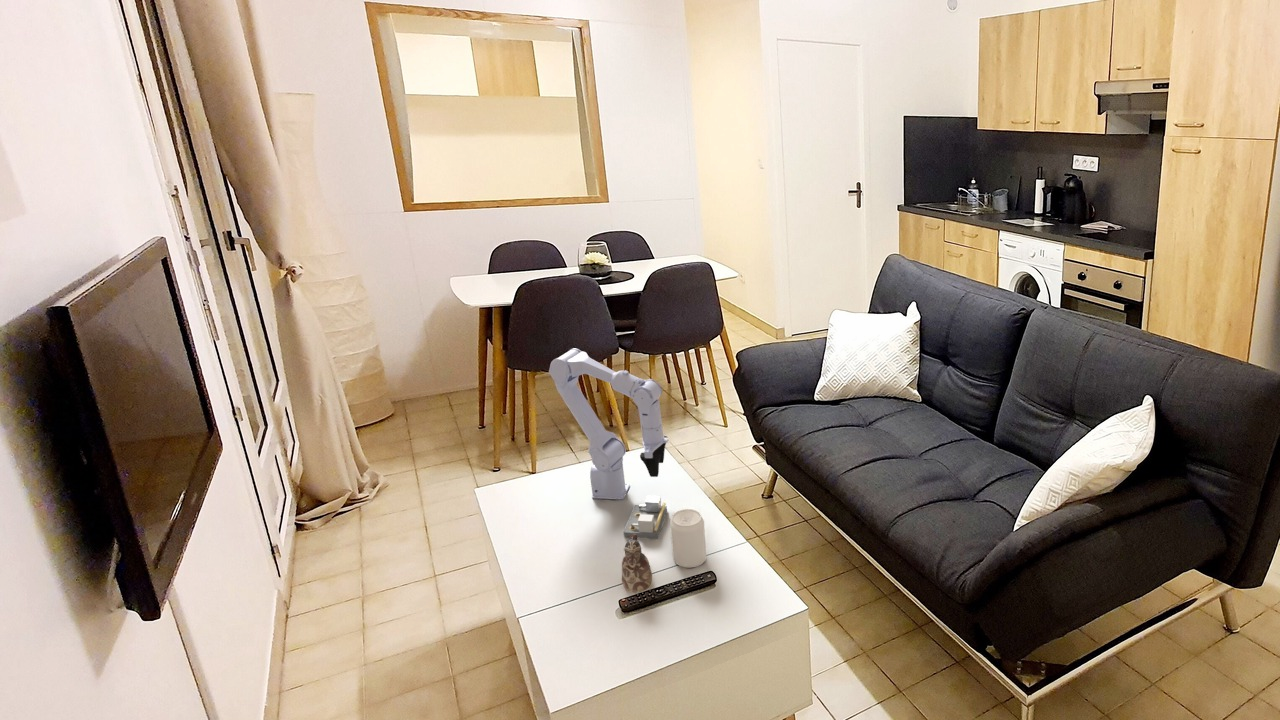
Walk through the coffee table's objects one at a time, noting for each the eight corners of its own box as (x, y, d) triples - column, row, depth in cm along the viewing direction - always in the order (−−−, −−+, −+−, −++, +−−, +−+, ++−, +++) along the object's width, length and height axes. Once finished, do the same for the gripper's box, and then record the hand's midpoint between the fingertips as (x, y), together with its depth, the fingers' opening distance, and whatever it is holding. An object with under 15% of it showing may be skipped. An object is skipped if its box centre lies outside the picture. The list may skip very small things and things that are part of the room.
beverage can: (709, 551, 172) (707, 509, 168) (702, 571, 165) (698, 528, 161) (678, 547, 175) (675, 506, 171) (669, 567, 168) (665, 525, 164)
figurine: (617, 590, 162) (612, 546, 158) (628, 571, 168) (623, 529, 164) (646, 594, 159) (641, 551, 155) (656, 575, 166) (652, 532, 161)
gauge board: (624, 537, 181) (622, 521, 180) (635, 509, 193) (633, 494, 192) (657, 538, 179) (656, 522, 178) (667, 510, 191) (665, 495, 189)
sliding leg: (637, 510, 189) (636, 501, 188) (640, 504, 192) (639, 495, 191) (659, 511, 188) (658, 502, 187) (661, 505, 190) (660, 496, 189)
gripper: (660, 436, 180) (666, 482, 185) (670, 413, 193) (675, 456, 198) (634, 436, 182) (640, 482, 186) (646, 413, 195) (651, 456, 200)
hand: (656, 469), depth 192 cm, fingers open, 7 cm apart
